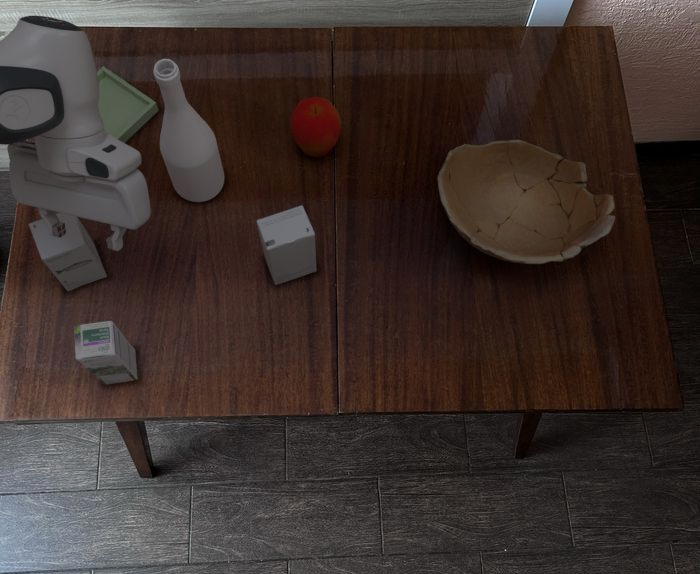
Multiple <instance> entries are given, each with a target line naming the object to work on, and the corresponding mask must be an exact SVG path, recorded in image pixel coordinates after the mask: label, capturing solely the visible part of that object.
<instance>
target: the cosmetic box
mask: <svg viewBox="0 0 700 574" xmlns="http://www.w3.org/2000/svg"><path fill="white" fill-rule="evenodd" d="M256 226H257V231H258V234H259V239H260V241H261V247H262V252H263V256H264V260H265V263H266V265H267V268H268V270H269V274H270V276H271V278H272V281H273V284H274V285H275V286H278V285H281V284H283V283H286V282H290V281H293V280H296V279H298V278H303V277H304V276H307V275H309V274H313V273H317V272H318V268H317V253H316V251H317V250H316V233H315V230H314V228H313V226H312V224H311V221H310V218H309V217H308V214H307V212H306V210H305V208H304V206H303V205H299V206H295V207H292V208H290V209H287V210H286V209H285V210H283V211H280V212H278V213H274V214H271V215H268V216H265V217H262V218H259V219H256Z"/></svg>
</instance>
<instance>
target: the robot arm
mask: <svg viewBox="0 0 700 574" xmlns="http://www.w3.org/2000/svg"><path fill="white" fill-rule="evenodd" d="M97 71H98V70H97V66H96V62H95V57H94V53H93V49H92V46H91V43H90V40H89V37H88V35H87V33H86V32H85V31H84V30H83V29H82V28H81V27H79V26H78V25H76V24H74V23H72V22H70V21H67V20H65V19H58V18H55V17H50V16H44V15H27V16H26V15H25V16H22V17H20V18H19V19H18V21H17V24H16V26H15V27H14V28H13V29H12V30H11V31H10V32H9V33H8V34H7V35H6V36H5V37H4V38H2V39H1V40H0V145H4V146H5V145H7V147H6V150H7V156H8V159H9V164H8V165H9V166H8V169H9V183H10V190H11V195H12V197H13V198H14V200H15V201H16V202H17V203H18V204H20V205H24V206H27V207H28V206H29V207H33V208H37V211H38V214H39V216H40V217H41V219H43V220H44V221H45V222H46V224H47V225H48V226H49V231H50V235H51V236H55V237H62V236H64V235H65V234H66V229H65V223H64V222H60V221H59V219H58V217H57V215H56V214H57V213H63V214H68V215H72V216H76V217H78V218H80V219H86V220H89V221H94V222H98V223H103V224H107V225H110V230H111V231H113V233H112V234H111V235H110V236H108V237H107V238H106V246H107V250H111V251H115V252H119V251H120V250H122V249H123V246H124V241H123V237H124V234H125V233H126V231H127V229H129V230H134V231H135V230H138V229H139V228H140V227H142V226H144V224H145V223H147V222H148V220H149V219H150V218H151V214H152V210H151V201H150V195H149V194H150V193H149V189H148V184H147V179H146V177H145V175H144V174H143V173H142V172H141V171H140V169H138V167H140V166H141V165H142V155H141V152H140V151H139V150H137V149H136V148H134V147H132V146H130V145H128V144H127V143H126V142H125V143H123V142H121V141H120V140H118V139H116V138H115V137H113V136H112V135H110V134H109V133H107V132H105V130H104V124H103V120H102V118H101V116H100V113H99V108H98V101H99V94H100V92H99V84H98V77H97ZM31 139H33V140H31Z"/></svg>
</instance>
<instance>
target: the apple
mask: <svg viewBox="0 0 700 574" xmlns="http://www.w3.org/2000/svg"><path fill="white" fill-rule="evenodd" d="M341 125H342V120H341V116H340V113H339V111H338V109H336V107H335V105H333V103H332V102H331V101H330V100H328V99H327V98H324V97H319V96H310V97H306V98H304V99H302V100H300V101H298V103H297V104H296V106H295V108H294V110H293V111H292V113H291V117H290V128H291V133H292V137H293V140H294V142H295V143H296V144H297V146H298V147H299V148H300V150H301V152H303V153H304V154H306V155H307V156H309V157H313V158H320V157H324V156H326V155H327V154H329V153H330V152H331V150H332V149H333V148H334V147H335V146H336V144H337V142H338V139H339V135H340V131H341Z"/></svg>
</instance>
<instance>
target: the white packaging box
mask: <svg viewBox="0 0 700 574" xmlns="http://www.w3.org/2000/svg"><path fill="white" fill-rule="evenodd" d="M55 214H56V215H57V217H58V219H59V221H60V222H64V223H65V229H66V234H65V235H64V236H62V237H55V236H51V235H50V231H49V226H48V225H47V224H46V222H45V221H44V220H43V218H40V219H38V220H37V219H36V220H35V221H32V222H29V223H28V224H27V225H28V227H29V230H30V232H31V236H32V238H33V240H34V243H35V246H36V248H37V251H38V253H39V254H38V255H39V256H40V258H41V261H42V262H43V264H44V265H45V266H46V267H47V268H48V269H49V271H50V272H51V273H52V274H53V275H54V277H55V278H56V279H57V280H58V282H59V283H60V284H61V286H62V287H63V288H64V289H65V290H66V292H71V291H73V290H75V289H77V288H80V287H83V286H85V285H87V284H88V285H89V284H90V283H91V284H92V283H93V282H96V281H100V280H102V279H105V278H107V277H108V275H107V274H106V271H105V268H104V265H103V262H102V260H101V258H100V256H99V252H98V250H97V248H96V245H95V243H94V241H93V239H92V238H91V235H90V234H89V233H88V231H87V230H86V228H85V226H84V225H83V223H82V222H81V220H80V218H79V217H76V216H72V215H68V214H63V213H59V212H56V213H55Z"/></svg>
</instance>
